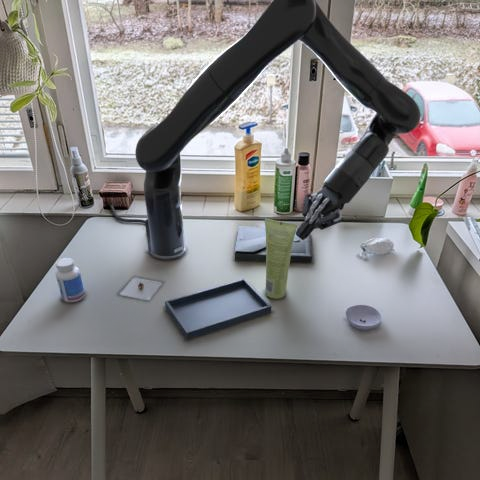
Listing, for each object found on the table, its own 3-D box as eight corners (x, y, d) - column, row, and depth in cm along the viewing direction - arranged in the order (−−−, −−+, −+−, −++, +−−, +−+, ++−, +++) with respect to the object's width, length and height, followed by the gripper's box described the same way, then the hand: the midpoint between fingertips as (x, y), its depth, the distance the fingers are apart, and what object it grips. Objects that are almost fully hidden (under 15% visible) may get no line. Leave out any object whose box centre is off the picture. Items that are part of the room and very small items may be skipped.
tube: (282, 285, 126) (287, 214, 114) (291, 296, 122) (297, 224, 110) (262, 290, 124) (264, 218, 112) (269, 301, 121) (273, 228, 108)
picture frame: (234, 260, 135) (311, 263, 134) (234, 251, 134) (312, 254, 133) (238, 232, 148) (309, 235, 147) (238, 223, 146) (310, 226, 145)
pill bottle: (89, 292, 123) (81, 258, 117) (77, 304, 119) (68, 270, 113) (70, 288, 125) (61, 254, 119) (57, 300, 121) (47, 265, 115)
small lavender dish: (351, 307, 119) (353, 301, 118) (384, 318, 116) (386, 311, 114) (339, 325, 113) (340, 319, 112) (373, 337, 110) (375, 330, 109)
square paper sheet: (162, 282, 127) (162, 276, 126) (148, 300, 121) (147, 294, 120) (134, 277, 129) (133, 271, 127) (119, 294, 123) (117, 288, 121)
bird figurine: (372, 268, 135) (398, 249, 138) (368, 246, 131) (395, 228, 134) (359, 263, 139) (384, 245, 142) (355, 242, 135) (381, 224, 138)
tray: (244, 284, 126) (244, 278, 125) (271, 312, 117) (271, 305, 116) (165, 307, 118) (164, 301, 117) (187, 339, 109) (186, 333, 108)
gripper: (323, 158, 115) (275, 217, 118) (359, 178, 106) (306, 242, 109) (339, 176, 121) (292, 232, 124) (375, 196, 111) (323, 257, 114)
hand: (299, 237), depth 116 cm, fingers closed
